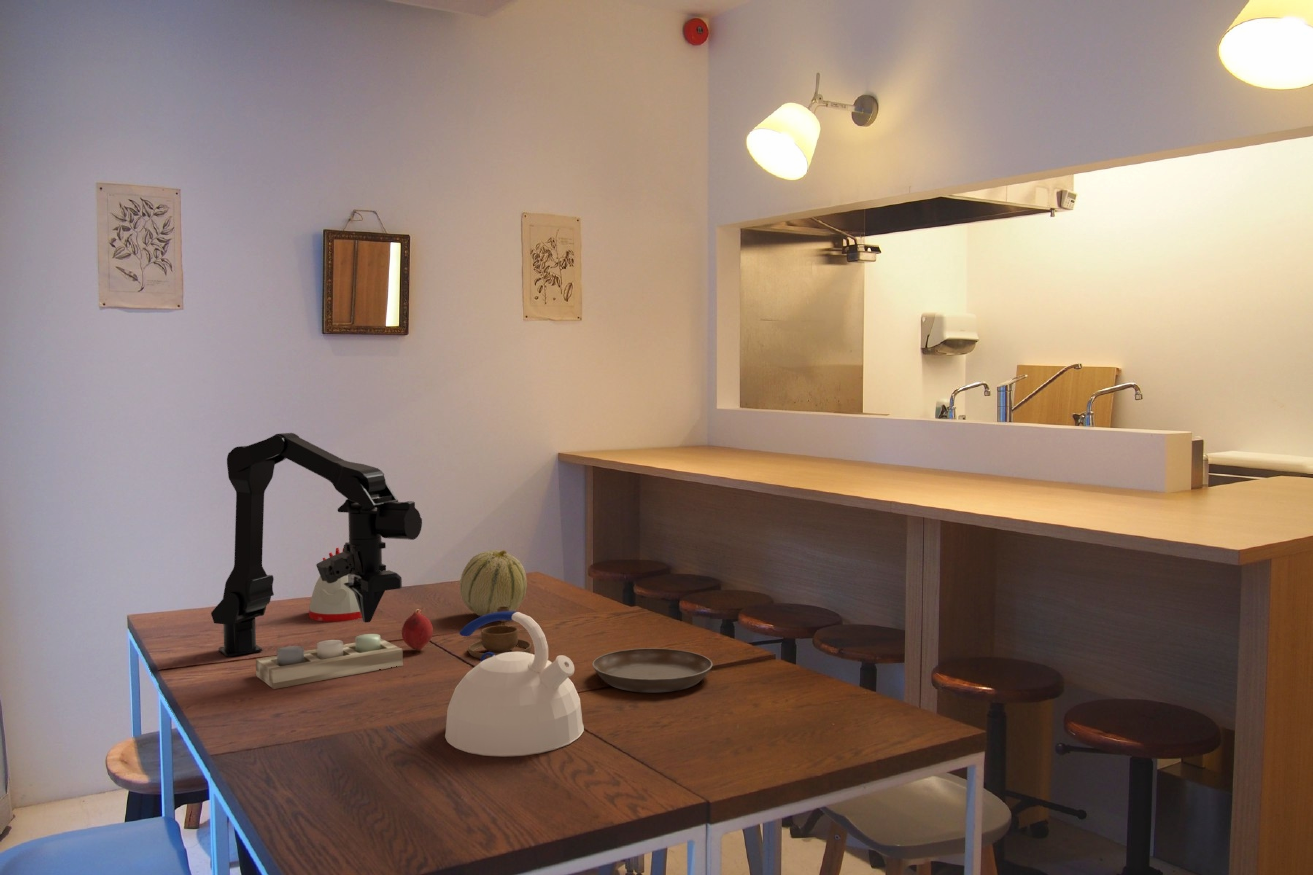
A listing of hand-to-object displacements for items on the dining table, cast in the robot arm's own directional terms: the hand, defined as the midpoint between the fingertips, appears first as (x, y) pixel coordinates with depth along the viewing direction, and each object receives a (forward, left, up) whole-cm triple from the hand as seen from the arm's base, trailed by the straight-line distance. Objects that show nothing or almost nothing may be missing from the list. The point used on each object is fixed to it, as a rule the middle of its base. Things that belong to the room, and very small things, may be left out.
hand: (366, 621), depth 188 cm
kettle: (+49, +3, -8) cm, 50 cm away
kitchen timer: (-43, +11, -8) cm, 45 cm away
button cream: (0, -7, -5) cm, 9 cm away
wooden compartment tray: (0, -7, -8) cm, 10 cm away
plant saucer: (+40, +35, -8) cm, 54 cm away
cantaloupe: (-19, +36, -8) cm, 42 cm away
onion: (-3, +11, -8) cm, 14 cm away
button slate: (0, -14, -5) cm, 15 cm away
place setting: (+5, +27, -9) cm, 28 cm away
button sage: (0, 0, -5) cm, 5 cm away
